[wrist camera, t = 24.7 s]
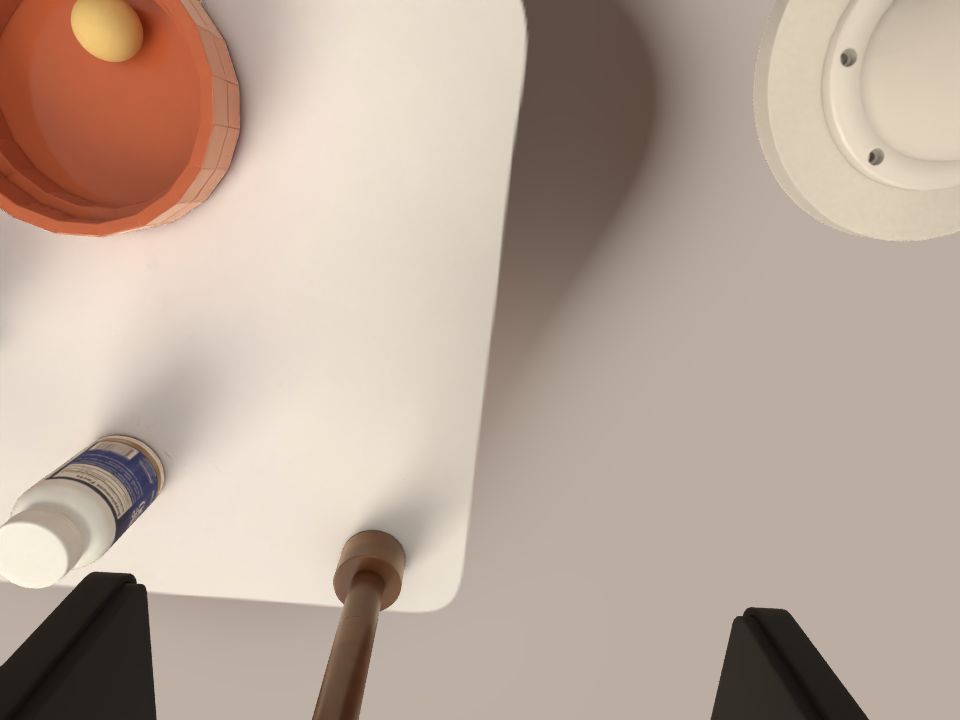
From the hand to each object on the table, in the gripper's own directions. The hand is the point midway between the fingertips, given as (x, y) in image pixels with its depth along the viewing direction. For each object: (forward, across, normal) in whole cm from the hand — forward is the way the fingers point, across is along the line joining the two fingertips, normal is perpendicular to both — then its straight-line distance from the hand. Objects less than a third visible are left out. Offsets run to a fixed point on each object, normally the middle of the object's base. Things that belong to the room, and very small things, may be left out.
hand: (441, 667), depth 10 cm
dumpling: (+28, +19, -13) cm, 36 cm away
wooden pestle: (+30, +4, +18) cm, 36 cm away
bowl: (+30, +20, -10) cm, 38 cm away
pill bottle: (+31, +21, +13) cm, 39 cm away
